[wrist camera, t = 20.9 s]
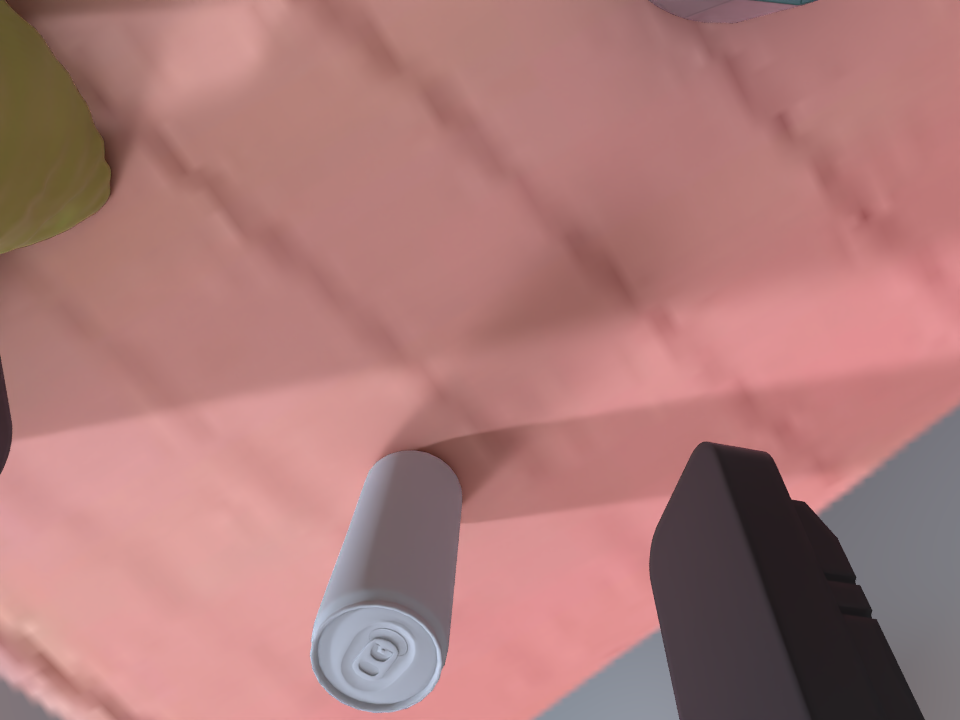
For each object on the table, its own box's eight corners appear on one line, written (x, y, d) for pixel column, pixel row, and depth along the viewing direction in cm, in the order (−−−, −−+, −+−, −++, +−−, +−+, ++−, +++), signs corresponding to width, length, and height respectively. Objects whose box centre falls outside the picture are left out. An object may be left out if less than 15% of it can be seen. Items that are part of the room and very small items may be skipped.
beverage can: (482, 478, 38) (474, 646, 26) (428, 549, 39) (398, 737, 28) (397, 426, 37) (352, 576, 26) (345, 500, 38) (280, 674, 27)
